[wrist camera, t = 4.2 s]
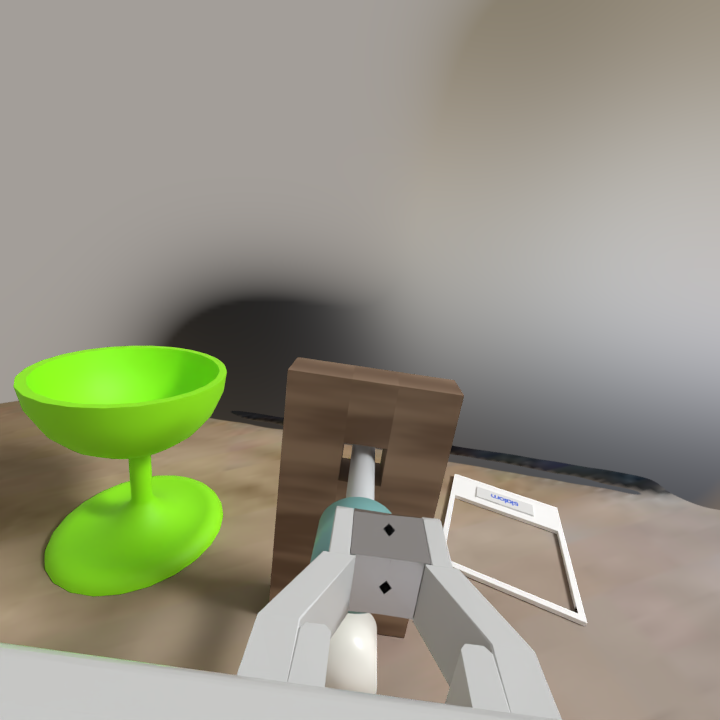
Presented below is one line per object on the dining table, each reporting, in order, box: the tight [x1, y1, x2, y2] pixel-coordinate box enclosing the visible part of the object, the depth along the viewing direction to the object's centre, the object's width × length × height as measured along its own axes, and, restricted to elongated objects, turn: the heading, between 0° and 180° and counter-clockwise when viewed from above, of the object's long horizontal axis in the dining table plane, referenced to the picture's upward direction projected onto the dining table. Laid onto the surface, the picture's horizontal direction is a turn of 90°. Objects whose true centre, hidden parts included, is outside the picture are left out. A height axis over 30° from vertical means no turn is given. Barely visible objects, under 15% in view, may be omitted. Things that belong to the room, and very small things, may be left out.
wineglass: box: [14, 346, 227, 596], centre depth 34 cm, size 16×16×18 cm
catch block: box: [269, 357, 464, 638], centre depth 28 cm, size 3×12×23 cm, turn 87°
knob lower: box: [325, 613, 377, 694], centre depth 24 cm, size 13×4×4 cm, turn 177°
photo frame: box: [443, 474, 587, 627], centre depth 43 cm, size 15×1×18 cm
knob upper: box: [310, 444, 392, 614], centre depth 22 cm, size 13×4×4 cm, turn 177°
